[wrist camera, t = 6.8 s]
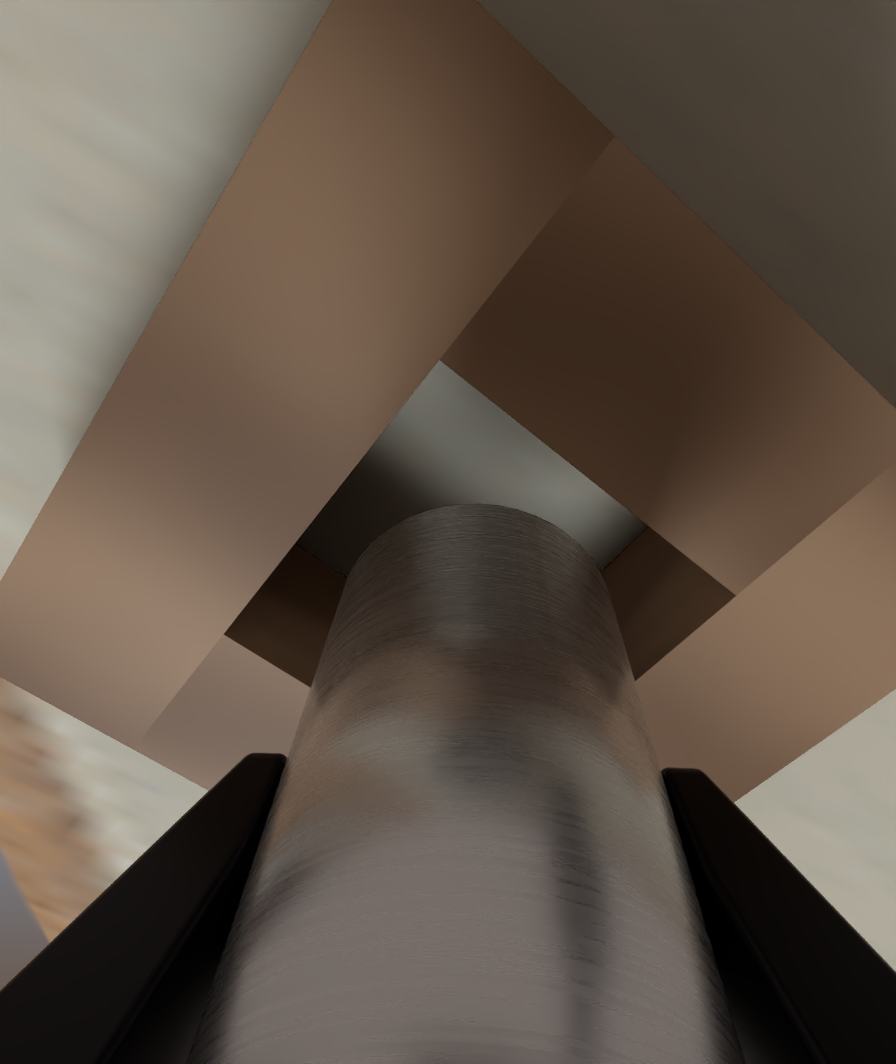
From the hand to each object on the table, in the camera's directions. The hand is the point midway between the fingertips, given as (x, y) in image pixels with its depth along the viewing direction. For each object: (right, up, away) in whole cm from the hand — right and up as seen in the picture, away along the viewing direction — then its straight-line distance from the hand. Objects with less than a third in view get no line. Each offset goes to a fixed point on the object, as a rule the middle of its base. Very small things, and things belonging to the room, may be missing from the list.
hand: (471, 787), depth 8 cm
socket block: (0, +3, +6) cm, 7 cm away
